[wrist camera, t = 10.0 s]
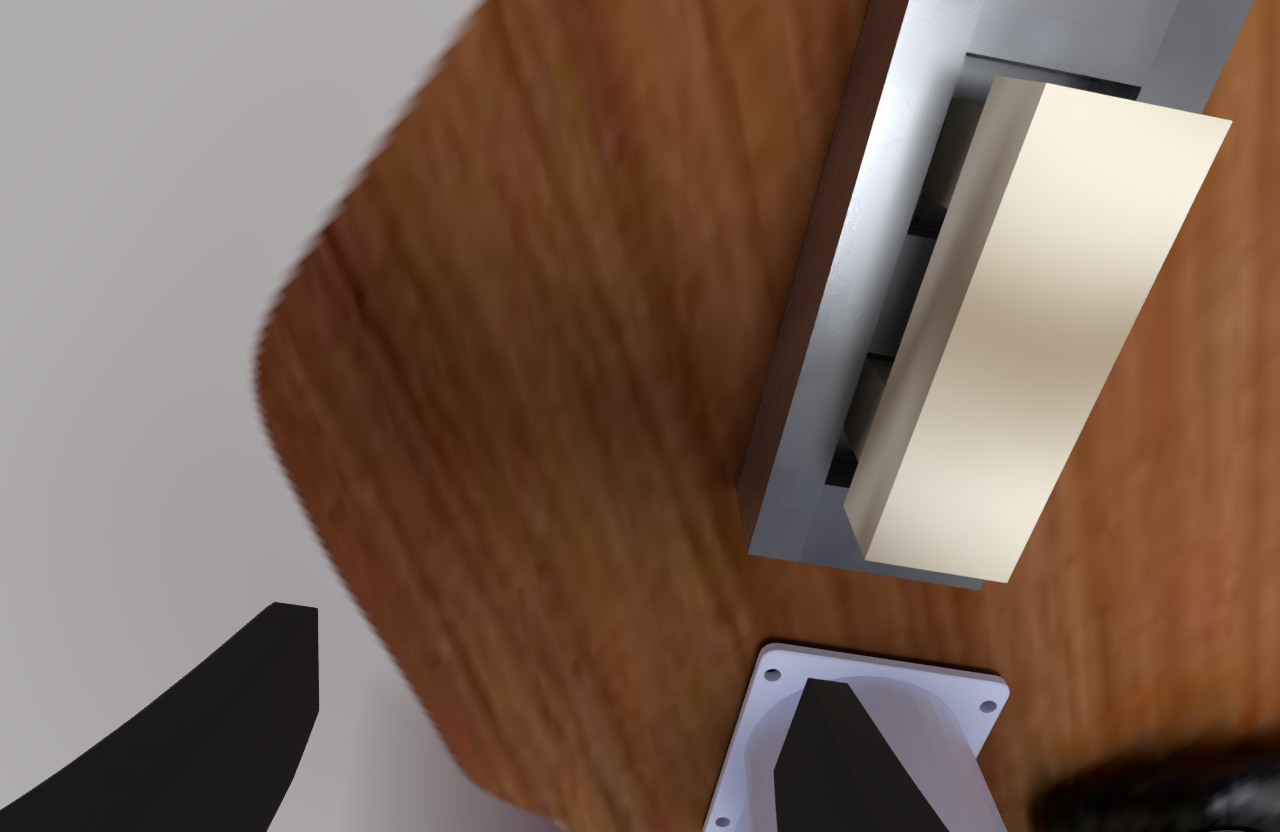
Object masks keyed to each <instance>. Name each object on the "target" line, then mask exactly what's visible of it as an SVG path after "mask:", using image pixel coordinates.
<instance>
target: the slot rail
mask: <svg viewBox="0 0 1280 832" xmlns="http://www.w3.org/2000/svg"><path fill="white" fill-rule="evenodd" d="M1253 2H1254V0H870V1H869V4H868V8H867V12H866V15H865V19H864V23H863V26H862V30H861V34H860V37H859V41H858V45H857V48H856V52H855V56H854V59H853V63H852V67H851V70H850V74H849V78H848V81H847V85H846V89H845V92H844V96H843V100H842V103H841V107H840V111H839V114H838V118H837V122H836V126H835V129H834V133H833V137H832V140H831V144H830V148H829V151H828V155H827V159H826V162H825V166H824V170H823V173H822V177H821V181H820V184H819V188H818V192H817V195H816V199H815V203H814V206H813V210H812V214H811V217H810V221H809V225H808V228H807V232H806V236H805V239H804V243H803V247H802V251H801V254H800V258H799V262H798V265H797V269H796V273H795V276H794V280H793V284H792V287H791V291H790V295H789V298H788V302H787V306H786V309H785V313H784V317H783V320H782V324H781V328H780V331H779V335H778V339H777V342H776V346H775V350H774V353H773V357H772V361H771V364H770V368H769V372H768V375H767V379H766V383H765V387H764V390H763V394H762V398H761V401H760V405H759V409H758V412H757V416H756V420H755V423H754V427H753V431H752V434H751V438H750V442H749V445H748V449H747V453H746V456H745V460H744V464H743V467H742V471H741V475H740V478H739V482H738V486H737V489H736V491H737V497H738V503H739V509H740V514H741V520H742V526H743V531H744V537H745V543H746V549H747V554H749V555H755V556H762V557H768V558H775V559H781V560H787V561H794V562H800V563H806V564H813V565H819V566H826V567H832V568H838V569H845V570H851V571H857V572H864V573H870V574H877V575H883V576H889V577H896V578H902V579H908V580H915V581H921V582H928V583H934V584H940V585H947V586H953V587H960V588H966V589H972V590H979V591H980V588H981V586H982V584H983V582H984V580H985V579H979V578H972V577H966V576H960V575H954V574H948V573H942V572H935V571H929V570H923V569H917V568H911V567H904V566H898V565H892V564H886V563H880V562H873V561H867V560H864V557H863V554H862V552H861V549H860V547H859V544H858V542H857V539H856V537H855V534H854V532H853V529H852V527H851V524H850V521H849V519H848V516H847V514H846V511H845V509H844V506H843V505H844V503H845V500H846V497H847V494H848V491H849V488H850V485H851V483H852V480H853V477H854V474H855V471H856V468H857V466H858V463H859V462H858V460H857V458H856V456H855V454H854V452H853V449H852V447H851V445H850V443H849V441H848V439H847V437H846V435H845V432H844V430H843V427H844V424H845V421H846V418H847V415H848V412H849V409H850V406H851V403H852V400H853V397H854V394H855V391H856V388H857V385H858V382H859V379H860V376H861V373H862V370H863V367H864V364H865V361H866V358H867V357H868V358H873V359H879V360H884V361H890V362H894V361H895V358H896V355H897V352H898V349H899V347H900V344H901V341H902V338H903V335H904V332H905V329H906V327H907V324H908V321H909V318H910V315H911V312H912V310H913V307H914V304H915V301H916V298H917V295H918V293H919V290H920V287H921V284H922V281H923V278H924V276H925V273H926V270H927V267H928V264H929V261H930V259H931V256H932V253H933V250H934V247H935V244H936V242H937V239H938V236H939V233H940V230H941V227H942V225H943V222H944V219H945V216H946V213H947V210H948V209H947V208H945V207H943V206H942V205H940V204H938V203H937V202H935V201H934V200H932V199H930V198H929V197H927V196H926V195H924V194H922V191H923V188H924V185H925V182H926V179H927V176H928V173H929V170H930V167H931V164H932V161H933V158H934V155H935V152H936V149H937V146H938V143H939V140H940V137H941V134H942V131H943V128H944V125H945V122H946V119H947V116H948V113H949V110H950V107H951V104H952V101H953V98H957V99H962V100H967V101H972V102H977V103H982V104H985V103H986V100H987V97H988V94H989V91H990V88H991V86H992V83H993V80H994V77H995V76H1001V77H1008V78H1015V79H1023V80H1030V81H1037V82H1044V83H1050V84H1054V85H1059V86H1064V87H1069V88H1074V89H1079V90H1084V91H1089V92H1093V93H1098V94H1103V95H1108V96H1113V97H1118V98H1123V99H1128V100H1132V101H1137V102H1142V103H1147V104H1152V105H1157V106H1162V107H1167V108H1171V109H1176V110H1181V111H1186V112H1191V113H1196V114H1202V112H1203V110H1204V107H1205V105H1206V103H1207V101H1208V99H1209V97H1210V95H1211V92H1212V90H1213V88H1214V86H1215V84H1216V82H1217V79H1218V77H1219V75H1220V73H1221V71H1222V69H1223V67H1224V64H1225V62H1226V60H1227V58H1228V56H1229V54H1230V52H1231V49H1232V47H1233V45H1234V43H1235V41H1236V39H1237V37H1238V34H1239V32H1240V30H1241V28H1242V26H1243V24H1244V22H1245V19H1246V17H1247V15H1248V13H1249V11H1250V9H1251V6H1252V4H1253Z"/></svg>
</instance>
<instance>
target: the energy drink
mask: <svg viewBox="0 0 1280 832" xmlns="http://www.w3.org/2000/svg"><path fill="white" fill-rule="evenodd" d="M1211 832H1244V831H1237V830H1220V831H1211Z"/></svg>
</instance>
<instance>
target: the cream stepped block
mask: <svg viewBox="0 0 1280 832" xmlns="http://www.w3.org/2000/svg"><path fill="white" fill-rule="evenodd" d="M1231 123H1232V121H1230V120H1225V119H1220V118H1215V117H1211V116H1206V115H1201V114H1196V113H1191V112H1186V111H1181V110H1176V109H1171V108H1167V107H1162V106H1157V105H1152V104H1147V103H1142V102H1137V101H1132V100H1128V99H1123V98H1118V97H1113V96H1108V95H1103V94H1098V93H1093V92H1089V91H1084V90H1079V89H1074V88H1069V87H1064V86H1059V85H1054V84H1050V83H1044V82H1037V81H1030V80H1023V79H1015V78H1008V77H1001V76H995V77H994V80H993V83H992V86H991V88H990V91H989V94H988V97H987V100H986V103H985V104H982V103H977V102H972V101H967V100H962V99H957V98H953V101H952V104H951V107H950V110H949V113H948V116H947V119H946V122H945V125H944V128H943V131H942V134H941V137H940V140H939V143H938V146H937V149H936V152H935V155H934V158H933V161H932V164H931V167H930V170H929V173H928V176H927V179H926V182H925V185H924V188H923V191H922V194H924V195H926V196H927V197H929V198H930V199H932V200H934V201H935V202H937V203H938V204H940V205H942V206H943V207H945V208H947V209H948V210H947V213H946V216H945V219H944V222H943V225H942V227H941V230H940V233H939V236H938V239H937V242H936V244H935V247H934V250H933V253H932V256H931V259H930V261H929V264H928V267H927V270H926V273H925V276H924V278H923V281H922V284H921V287H920V290H919V293H918V295H917V298H916V301H915V304H914V307H913V310H912V312H911V315H910V318H909V321H908V324H907V327H906V329H905V332H904V335H903V338H902V341H901V344H900V347H899V349H898V352H897V355H896V358H895V361H894V362H890V361H884V360H879V359H873V358H868V357H867V358H866V361H865V364H864V367H863V370H862V373H861V376H860V379H859V382H858V385H857V388H856V391H855V394H854V397H853V400H852V403H851V406H850V409H849V412H848V415H847V418H846V421H845V424H844V427H843V430H844V432H845V435H846V437H847V439H848V441H849V443H850V445H851V447H852V449H853V452H854V454H855V456H856V458H857V460H858V462H859V463H858V466H857V468H856V471H855V474H854V477H853V480H852V483H851V485H850V488H849V491H848V494H847V497H846V500H845V503H844V505H843V506H844V509H845V511H846V514H847V516H848V519H849V521H850V524H851V527H852V529H853V532H854V534H855V537H856V539H857V542H858V544H859V547H860V549H861V552H862V554H863V557H864V560H867V561H873V562H880V563H886V564H892V565H898V566H904V567H911V568H917V569H923V570H929V571H935V572H942V573H948V574H954V575H960V576H966V577H972V578H979V579H985V580H991V581H997V582H1003V583H1007V582H1008V580H1009V578H1010V576H1011V574H1012V572H1013V570H1014V568H1015V565H1016V563H1017V561H1018V559H1019V557H1020V555H1021V553H1022V551H1023V549H1024V547H1025V545H1026V543H1027V541H1028V539H1029V537H1030V535H1031V533H1032V531H1033V529H1034V527H1035V525H1036V522H1037V520H1038V518H1039V516H1040V514H1041V512H1042V510H1043V508H1044V506H1045V504H1046V502H1047V500H1048V498H1049V496H1050V494H1051V492H1052V490H1053V488H1054V486H1055V484H1056V482H1057V479H1058V477H1059V475H1060V473H1061V471H1062V469H1063V467H1064V465H1065V463H1066V461H1067V459H1068V457H1069V455H1070V453H1071V451H1072V449H1073V447H1074V445H1075V443H1076V441H1077V439H1078V436H1079V434H1080V432H1081V430H1082V428H1083V426H1084V424H1085V422H1086V420H1087V418H1088V416H1089V414H1090V412H1091V410H1092V408H1093V406H1094V404H1095V402H1096V400H1097V398H1098V396H1099V394H1100V391H1101V389H1102V387H1103V385H1104V383H1105V381H1106V379H1107V377H1108V375H1109V373H1110V371H1111V369H1112V367H1113V365H1114V363H1115V361H1116V359H1117V357H1118V355H1119V353H1120V351H1121V348H1122V346H1123V344H1124V342H1125V340H1126V338H1127V336H1128V334H1129V332H1130V330H1131V328H1132V326H1133V324H1134V322H1135V320H1136V318H1137V316H1138V314H1139V312H1140V310H1141V308H1142V305H1143V303H1144V301H1145V299H1146V297H1147V295H1148V293H1149V291H1150V289H1151V287H1152V285H1153V283H1154V281H1155V279H1156V277H1157V275H1158V273H1159V271H1160V269H1161V267H1162V265H1163V262H1164V260H1165V258H1166V256H1167V254H1168V252H1169V250H1170V248H1171V246H1172V244H1173V242H1174V240H1175V238H1176V236H1177V234H1178V232H1179V230H1180V228H1181V226H1182V224H1183V222H1184V220H1185V217H1186V215H1187V213H1188V211H1189V209H1190V207H1191V205H1192V203H1193V201H1194V199H1195V197H1196V195H1197V193H1198V191H1199V189H1200V187H1201V185H1202V183H1203V181H1204V179H1205V177H1206V174H1207V172H1208V170H1209V168H1210V166H1211V164H1212V162H1213V160H1214V158H1215V156H1216V154H1217V152H1218V150H1219V148H1220V146H1221V144H1222V142H1223V140H1224V138H1225V136H1226V134H1227V131H1228V129H1229V127H1230V125H1231Z"/></svg>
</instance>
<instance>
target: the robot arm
mask: <svg viewBox="0 0 1280 832" xmlns="http://www.w3.org/2000/svg"><path fill="white" fill-rule="evenodd" d="M318 663H319V660H318V608H314V607H307V606H300V605H293V604H285V603H278V602H274V603H272V604H271V605H269V606H268V607H266V608H265V609H264V610H263V611H262V612H260V613H259V614H258V615H257V616H256V617H255V618H254V619H252V620H251V621H250V622H249V623H247V624H246V625H245V626H244V627H243V628H242V629H241V630H239V631H238V632H237V633H236V634H235V635H233V636H232V637H231V638H230V639H229V640H228V641H226V642H225V643H224V644H223V645H222V646H221V647H219V648H218V649H217V650H216V651H215V652H213V653H212V654H211V655H210V656H209V657H207V658H206V659H205V660H204V661H203V662H201V663H200V664H199V665H198V666H197V667H195V668H194V669H193V670H192V671H190V672H189V673H188V674H187V675H186V676H184V677H183V678H182V679H180V680H179V681H178V682H177V683H175V684H174V685H173V686H172V687H170V689H168V690H167V691H165V692H164V693H163V694H162V695H160V696H159V697H158V698H157V699H156V700H154V701H153V702H152V703H150V704H149V705H148V706H147V707H145V708H144V709H143V710H142V711H140V712H139V713H138V714H136V715H135V716H134V717H132V718H131V719H130V720H128V721H127V722H126V723H124V724H123V725H122V726H120V727H119V728H118V729H116V730H115V731H114V732H112V733H111V734H109V735H108V736H107V737H105V738H104V739H103V740H101V741H100V742H98V743H97V744H96V745H94V746H93V747H92V748H90V749H89V750H88V751H86V752H85V753H83V754H82V755H81V756H79V757H78V758H77V759H75V760H74V761H73V762H71V763H70V764H68V765H67V766H66V767H64V768H63V769H61V770H60V771H58V772H57V773H56V774H54V775H52V776H51V777H50V778H48V779H47V780H45V781H44V782H42V783H41V784H39V785H38V786H36V787H35V788H33V789H32V790H30V791H29V792H28V793H26V794H25V795H23V796H21V797H20V798H19V799H17V800H15V801H14V802H12V803H11V804H9V805H7V806H6V807H4V808H3V809H1V810H0V832H267V830H268V828H269V825H270V824H271V822H272V820H273V818H274V816H275V814H276V812H277V810H278V808H279V806H280V804H281V802H282V800H283V798H284V796H285V794H286V792H287V790H288V788H289V786H290V784H291V782H292V780H293V778H294V775H295V772H296V770H297V768H298V765H299V762H300V760H301V757H302V755H303V752H304V750H305V747H306V744H307V742H308V739H309V736H310V734H311V731H312V728H313V726H314V723H315V720H316V717H317V715H318V712H319V664H318ZM769 669H777V670H776V671H774V672H767V670H769ZM1009 693H1010V691H1009V688H1008V686H1007V684H1006V682H1005V680H1003V679H1002V678H1001V677H999V676H996V675H989V674H982V673H976V672H969V671H962V670H956V669H949V668H942V667H935V666H929V665H922V664H915V663H909V662H902V661H895V660H889V659H882V658H875V657H869V656H862V655H855V654H849V653H842V652H835V651H829V650H822V649H815V648H809V647H802V646H795V645H789V644H782V643H771V644H768V645H766V646H765V647H763V648H762V649H761V651H760V653H759V656H758V659H757V662H756V665H755V668H754V671H753V674H752V677H751V680H750V684H749V687H748V690H747V693H746V696H745V699H744V702H743V705H742V708H741V712H740V715H739V718H738V721H737V724H736V727H735V730H734V733H733V736H732V739H731V743H730V746H729V749H728V752H727V755H726V758H725V761H724V764H723V767H722V770H721V774H720V777H719V780H718V783H717V786H716V789H715V792H714V795H713V798H712V801H711V805H710V808H709V811H708V814H707V817H706V820H705V823H704V826H703V829H702V832H1007V830H1006V827H1005V825H1004V823H1003V820H1002V818H1001V816H1000V814H999V811H998V809H997V807H996V804H995V802H994V800H993V798H992V795H991V793H990V791H989V788H988V786H987V784H986V782H985V779H984V777H983V775H982V772H981V770H980V768H979V766H978V763H977V761H976V758H977V756H978V754H979V752H980V750H981V748H982V746H983V744H984V742H985V740H986V739H987V737H988V735H989V733H990V731H991V729H992V727H993V725H994V723H995V721H996V720H997V718H998V716H999V714H1000V712H1001V710H1002V708H1003V706H1004V704H1005V702H1006V701H1007V699H1008V697H1009ZM986 701H988V702H986ZM983 702H986V703H983Z"/></svg>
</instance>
